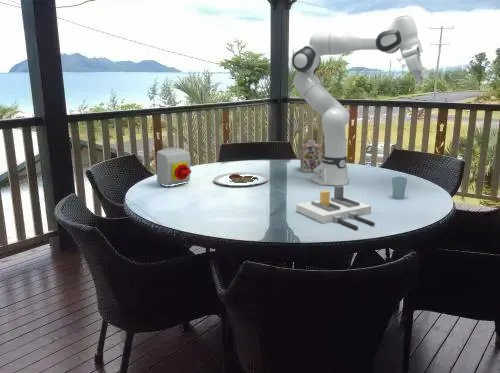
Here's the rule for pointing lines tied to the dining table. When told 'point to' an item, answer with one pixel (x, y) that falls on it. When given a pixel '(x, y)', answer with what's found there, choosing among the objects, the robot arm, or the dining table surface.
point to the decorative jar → (310, 156)
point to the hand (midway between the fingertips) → (419, 81)
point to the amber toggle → (325, 198)
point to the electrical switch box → (173, 166)
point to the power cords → (352, 216)
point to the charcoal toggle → (338, 192)
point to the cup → (399, 187)
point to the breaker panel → (332, 209)
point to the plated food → (241, 178)
